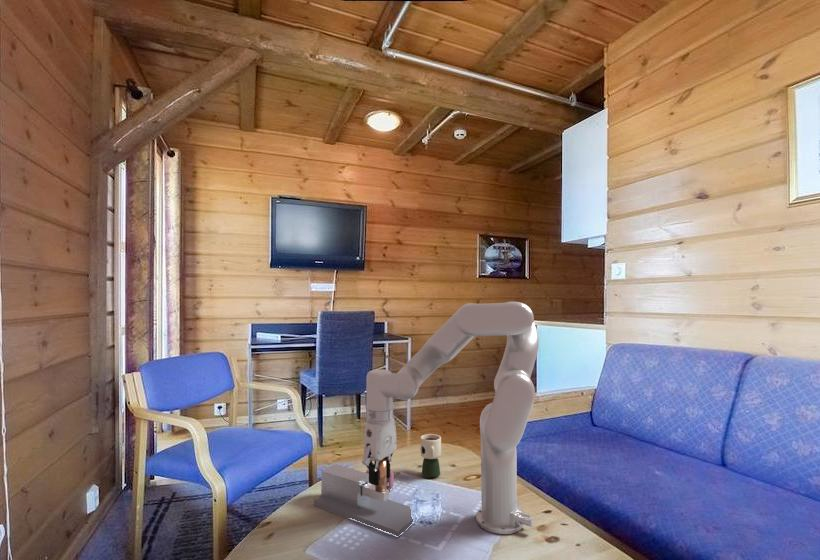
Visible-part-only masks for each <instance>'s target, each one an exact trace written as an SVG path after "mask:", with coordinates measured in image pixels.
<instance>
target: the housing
mask: <svg viewBox="0 0 820 560" xmlns="http://www.w3.org/2000/svg"><path fill="white" fill-rule="evenodd" d="M364 483H369V474H368V473H366V471H365V472H364V471H361V470H357V469H355V468H351V467H346V466H343V465H341V464H337V463H334V464H332V465H331V466H328V467H326V468H324V469H323V470H321V483H320V484H321V486H320V487H321V489H320V490H321V491H320V492H321V496H323V497H326V498H328V499H331V500H334V501H337V502H340V503H342V504H345V505H348V506H351V507H353V508H356V509H358V508H359V507H361V506H362V505H364V504H365V503H367V502H368V501H370V500H371V498H370V497H367V496H364V495H361V485H362V484H364ZM369 484H370V483H369Z"/></svg>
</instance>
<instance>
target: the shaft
mask: <svg viewBox="0 0 820 560" xmlns="http://www.w3.org/2000/svg"><path fill="white" fill-rule="evenodd" d="M378 470H379V485H372V484H369V483H364V484H362V485H361V495H364V496H367V497H370V498H373V499H376V500H379V501H382V502H385V501H386V500H390V490H389V488H387V485H386V459H382V460H379V463H378Z"/></svg>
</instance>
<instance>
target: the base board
mask: <svg viewBox="0 0 820 560" xmlns="http://www.w3.org/2000/svg"><path fill="white" fill-rule="evenodd" d="M313 506H314V507H316V508H319V509H321V510H325V511H326V512H329V513H332V514H335V515H337V516H339V517H343V518H345V519H347V518H352V519H355V520H357V521H360V522H362V523H365V524H367V525H370V526H373V527H375V528H378V529H381V530H383V531H386V532H389V533H392V534H394V535H396V536H399V535H400V534H401V533H402V532H404V531H405V530H406V529H407V528H408V527H409V526H410V525H411V524H412V522H413V519H412V517H411V509H410V507H411V506H409V505H406V504H403V503H401V502H398V501H394V500H391V499H388V500H386V501H385V502H382V501H379V500H376V499H373V498H371V500H370V501H368V502H367V503H365V504H364V505H362V506H361V507H359V508H358V509H356V508H353V507H351V506H348V505H345V504H342V503H340V502H337V501H334V500H331V499H328V498H326V497H323V496H319V497H316V499H313Z"/></svg>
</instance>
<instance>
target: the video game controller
mask: <svg viewBox="0 0 820 560" xmlns="http://www.w3.org/2000/svg"><path fill="white" fill-rule="evenodd" d="M365 473H368V474H369V469H367V470H366V471H365ZM394 476H395V473H394V471H393V470H392V469H390V478H386V486H387V485H388V490H389V489H391V488H392V487H393V488H394V482H395V477H394ZM372 485H374V484H372ZM393 488H392V489H393Z"/></svg>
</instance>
